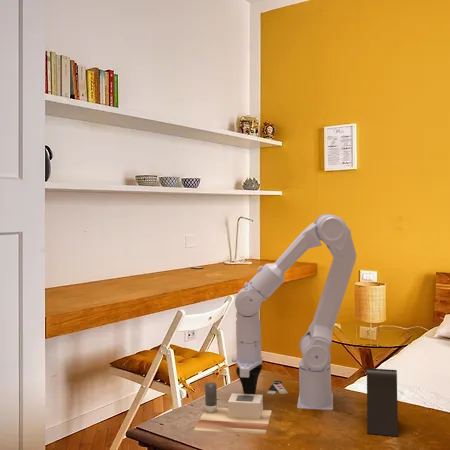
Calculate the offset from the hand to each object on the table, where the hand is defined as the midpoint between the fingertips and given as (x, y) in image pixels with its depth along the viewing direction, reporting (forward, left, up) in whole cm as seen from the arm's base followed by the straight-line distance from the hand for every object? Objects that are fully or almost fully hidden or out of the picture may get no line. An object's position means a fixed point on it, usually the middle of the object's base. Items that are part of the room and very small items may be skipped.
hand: (249, 397), depth 125 cm
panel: (+10, -2, -2) cm, 10 cm away
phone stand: (+8, +29, -2) cm, 30 cm away
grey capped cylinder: (+6, -8, -1) cm, 10 cm away
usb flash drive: (-10, +6, -2) cm, 12 cm away
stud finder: (+6, 0, -1) cm, 7 cm away
